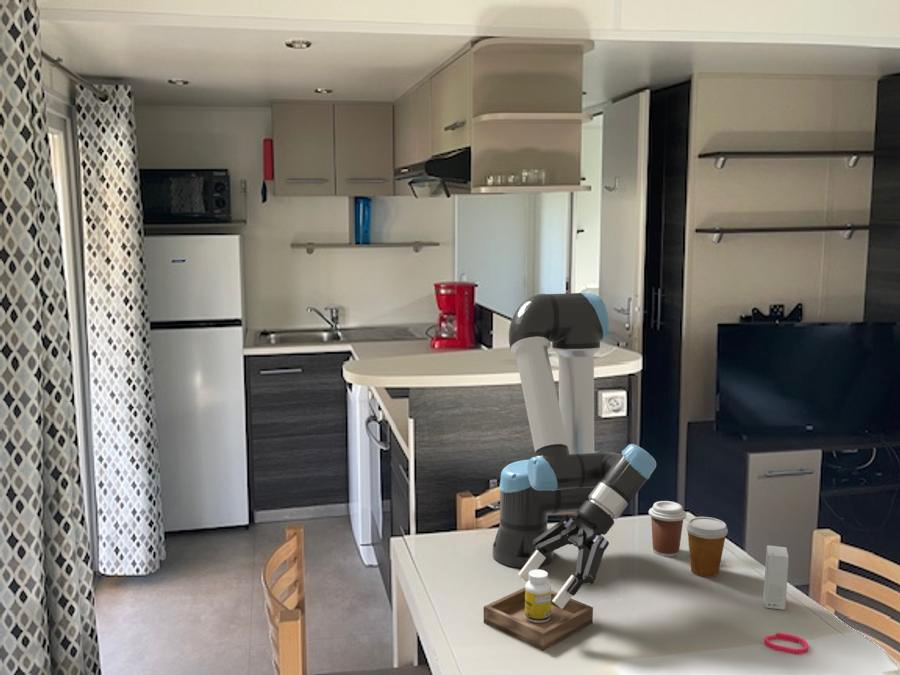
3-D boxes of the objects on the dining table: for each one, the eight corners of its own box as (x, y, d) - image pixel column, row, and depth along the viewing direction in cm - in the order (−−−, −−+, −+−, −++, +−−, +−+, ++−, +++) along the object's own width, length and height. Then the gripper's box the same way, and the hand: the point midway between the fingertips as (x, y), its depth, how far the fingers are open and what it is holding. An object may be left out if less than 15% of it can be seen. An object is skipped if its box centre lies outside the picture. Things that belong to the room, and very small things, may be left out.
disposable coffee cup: (727, 581, 198) (730, 532, 196) (685, 578, 200) (687, 528, 198) (723, 565, 207) (725, 517, 206) (682, 561, 209) (684, 514, 207)
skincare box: (785, 610, 184) (789, 557, 182) (764, 608, 185) (767, 555, 183) (783, 598, 190) (786, 546, 188) (763, 596, 191) (766, 544, 189)
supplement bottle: (522, 612, 181) (523, 568, 179) (547, 611, 181) (548, 567, 180) (527, 624, 175) (527, 579, 174) (553, 623, 176) (554, 578, 174)
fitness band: (809, 644, 170) (809, 637, 170) (807, 658, 165) (807, 651, 165) (765, 636, 174) (766, 629, 173) (762, 649, 168) (763, 642, 168)
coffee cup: (647, 556, 212) (649, 510, 210) (647, 542, 221) (648, 498, 219) (685, 560, 210) (687, 513, 208) (683, 546, 219) (685, 500, 217)
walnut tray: (483, 622, 178) (483, 606, 178) (533, 598, 190) (533, 583, 189) (543, 650, 167) (543, 633, 167) (592, 623, 178) (593, 607, 178)
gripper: (648, 540, 171) (584, 627, 167) (578, 501, 193) (520, 576, 189) (627, 519, 168) (561, 607, 164) (558, 482, 190) (498, 558, 186)
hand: (539, 591), depth 177 cm, fingers open, 13 cm apart
